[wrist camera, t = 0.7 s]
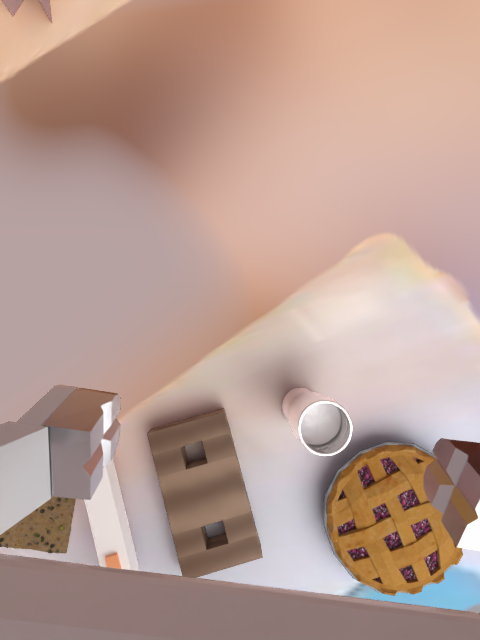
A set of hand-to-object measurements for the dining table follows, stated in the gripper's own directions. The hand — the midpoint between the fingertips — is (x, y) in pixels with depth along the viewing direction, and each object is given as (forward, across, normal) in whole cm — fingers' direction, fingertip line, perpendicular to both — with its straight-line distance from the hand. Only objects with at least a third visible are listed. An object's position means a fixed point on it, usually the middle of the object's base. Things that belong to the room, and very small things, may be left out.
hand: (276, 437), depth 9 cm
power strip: (+34, -15, -43) cm, 56 cm away
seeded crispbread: (+34, -28, -44) cm, 62 cm away
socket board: (+36, -2, -38) cm, 52 cm away
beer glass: (+41, +12, -24) cm, 49 cm away
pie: (+36, +27, -37) cm, 58 cm away
